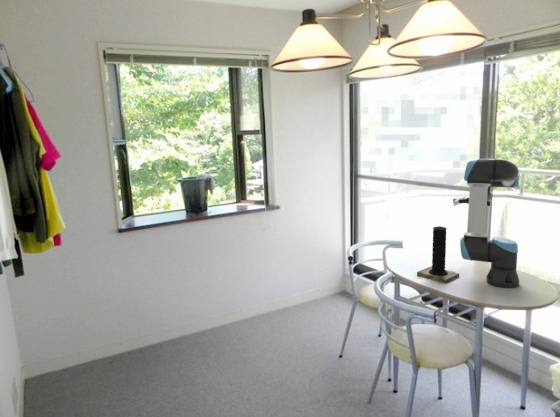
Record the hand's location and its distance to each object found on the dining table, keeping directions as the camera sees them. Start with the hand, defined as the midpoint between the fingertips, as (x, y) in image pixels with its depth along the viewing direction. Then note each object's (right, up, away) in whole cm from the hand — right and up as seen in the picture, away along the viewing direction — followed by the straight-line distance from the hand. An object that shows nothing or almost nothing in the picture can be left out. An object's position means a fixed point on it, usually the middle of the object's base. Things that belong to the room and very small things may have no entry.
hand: (466, 204), depth 225 cm
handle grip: (-17, -38, -3) cm, 42 cm away
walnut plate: (-17, -40, -3) cm, 44 cm away
